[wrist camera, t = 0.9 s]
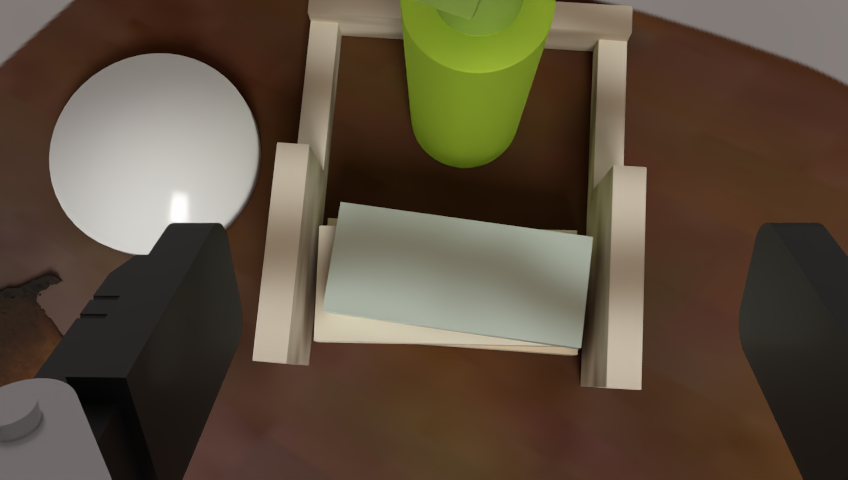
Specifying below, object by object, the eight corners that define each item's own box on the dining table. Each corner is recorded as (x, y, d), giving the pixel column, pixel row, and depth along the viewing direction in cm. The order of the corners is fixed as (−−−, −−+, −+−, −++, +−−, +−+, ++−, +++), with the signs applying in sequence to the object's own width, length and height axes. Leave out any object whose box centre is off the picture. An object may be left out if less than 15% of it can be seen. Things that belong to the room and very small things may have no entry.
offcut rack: (609, 388, 39) (641, 390, 33) (279, 363, 39) (252, 360, 33) (621, 27, 42) (650, -29, 36) (317, 8, 43) (298, -51, 37)
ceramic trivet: (158, 299, 40) (150, 297, 39) (18, 164, 41) (6, 158, 40) (303, 150, 41) (299, 143, 40) (162, 24, 43) (155, 14, 42)
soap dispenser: (387, 163, 41) (344, -34, 22) (434, 51, 42) (432, -233, 23) (489, 201, 41) (539, 36, 21) (533, 87, 42) (620, -171, 22)
